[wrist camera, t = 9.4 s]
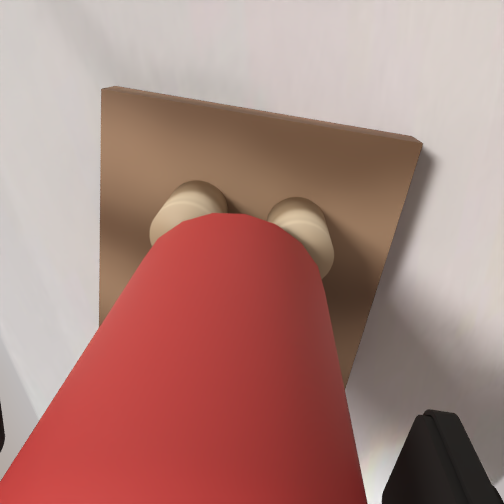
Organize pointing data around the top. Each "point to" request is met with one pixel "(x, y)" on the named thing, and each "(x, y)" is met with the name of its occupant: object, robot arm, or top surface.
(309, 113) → the top surface
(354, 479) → the beer can
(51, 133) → the top surface
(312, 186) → the peg stand
